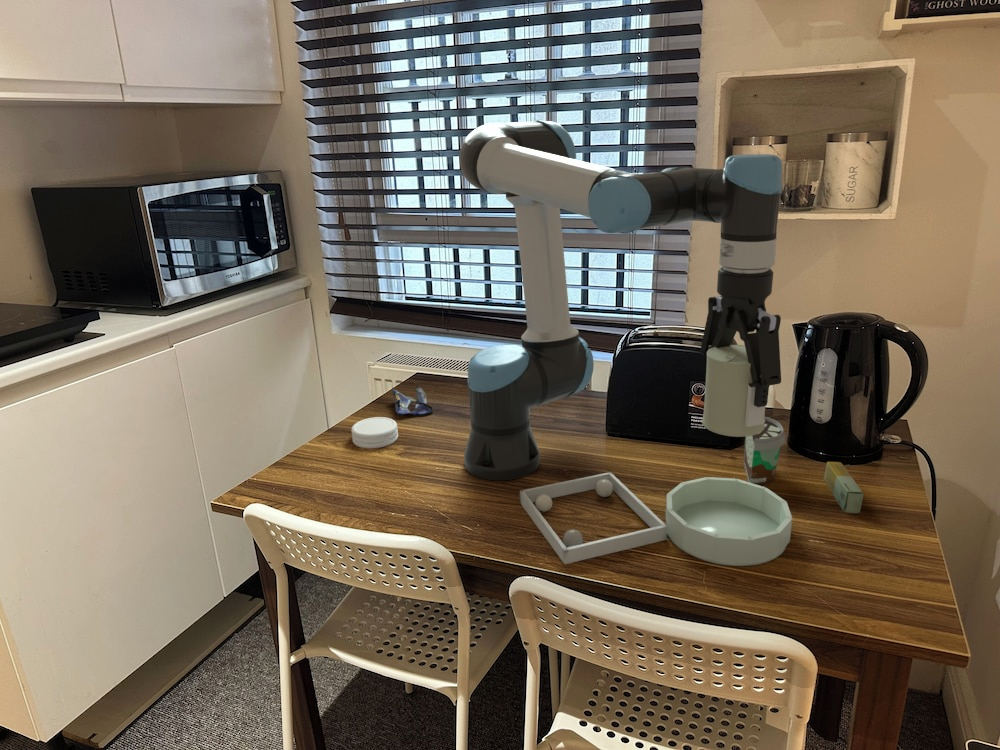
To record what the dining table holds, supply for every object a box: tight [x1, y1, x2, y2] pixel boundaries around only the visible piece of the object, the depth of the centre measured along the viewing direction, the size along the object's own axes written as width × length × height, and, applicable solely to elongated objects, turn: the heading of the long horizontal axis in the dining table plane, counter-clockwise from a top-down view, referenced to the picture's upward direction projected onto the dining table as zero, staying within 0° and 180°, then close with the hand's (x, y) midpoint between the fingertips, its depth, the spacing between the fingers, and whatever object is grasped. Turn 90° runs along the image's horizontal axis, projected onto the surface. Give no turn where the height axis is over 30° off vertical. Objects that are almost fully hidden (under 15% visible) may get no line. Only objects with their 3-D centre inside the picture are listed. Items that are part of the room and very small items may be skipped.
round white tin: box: [350, 416, 399, 450], centre depth 155 cm, size 10×10×4 cm
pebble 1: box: [534, 494, 553, 513], centre depth 124 cm, size 3×3×3 cm
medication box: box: [823, 461, 864, 514], centre depth 125 cm, size 12×3×4 cm, turn 173°
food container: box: [743, 416, 786, 486], centre depth 132 cm, size 12×6×10 cm, turn 168°
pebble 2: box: [562, 528, 584, 548], centre depth 113 cm, size 3×3×3 cm
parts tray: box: [519, 471, 668, 565], centre depth 120 cm, size 20×18×2 cm
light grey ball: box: [594, 479, 614, 498], centre depth 128 cm, size 3×3×3 cm
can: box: [701, 344, 766, 438], centre depth 107 cm, size 9×9×12 cm
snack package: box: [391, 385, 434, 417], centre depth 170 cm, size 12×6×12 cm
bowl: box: [665, 476, 793, 567], centre depth 115 cm, size 19×19×5 cm
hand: (734, 412), depth 109 cm, fingers closed on can, 9 cm apart
